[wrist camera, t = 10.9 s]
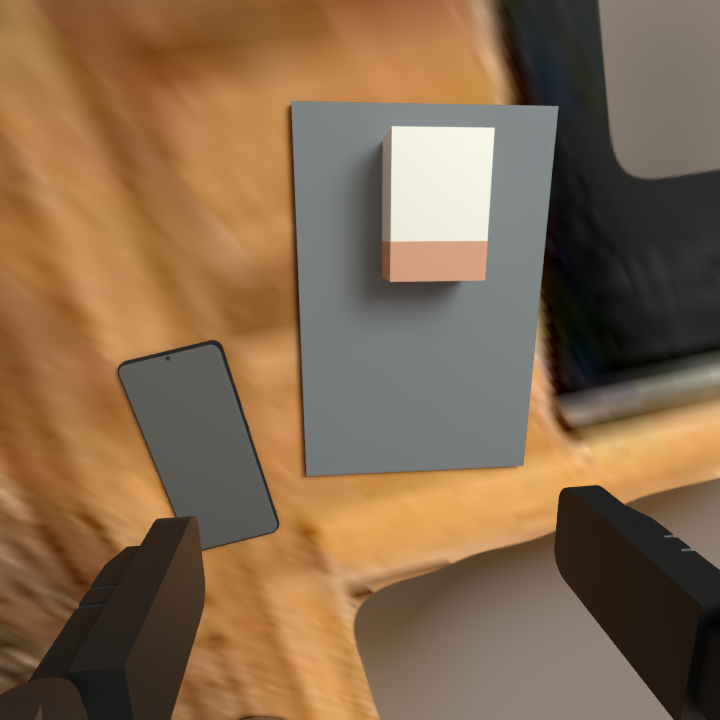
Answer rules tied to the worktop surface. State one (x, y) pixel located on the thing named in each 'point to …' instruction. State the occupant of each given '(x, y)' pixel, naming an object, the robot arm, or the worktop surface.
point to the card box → (436, 203)
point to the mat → (415, 298)
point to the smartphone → (201, 441)
